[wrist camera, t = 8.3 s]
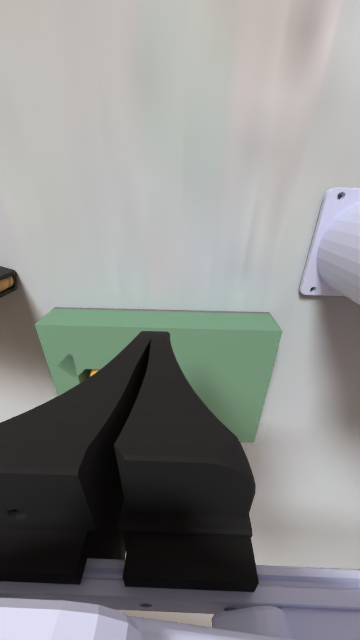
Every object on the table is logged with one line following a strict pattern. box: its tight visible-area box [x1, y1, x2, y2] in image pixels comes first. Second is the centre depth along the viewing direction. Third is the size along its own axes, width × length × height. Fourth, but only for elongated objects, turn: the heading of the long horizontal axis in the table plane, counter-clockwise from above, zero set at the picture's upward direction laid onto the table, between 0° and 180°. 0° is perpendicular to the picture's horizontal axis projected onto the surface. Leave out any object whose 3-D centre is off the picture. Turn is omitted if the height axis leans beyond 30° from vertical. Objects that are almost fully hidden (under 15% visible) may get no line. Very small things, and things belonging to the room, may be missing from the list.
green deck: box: [35, 307, 282, 442], centre depth 23 cm, size 20×14×3 cm
